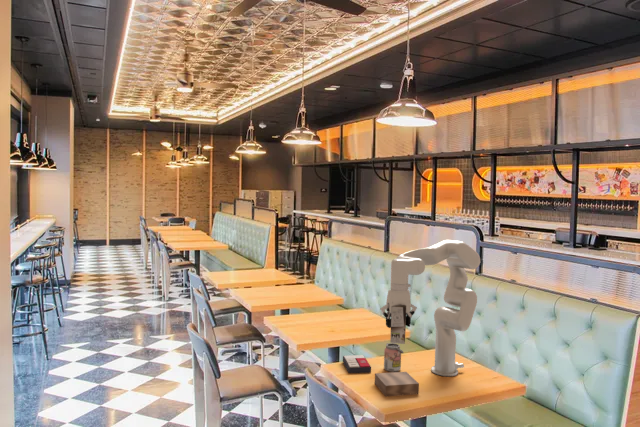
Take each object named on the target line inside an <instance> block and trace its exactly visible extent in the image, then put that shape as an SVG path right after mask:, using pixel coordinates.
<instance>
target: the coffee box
mask: <svg viewBox="0 0 640 427" xmlns="http://www.w3.org/2000/svg"><path fill="white" fill-rule="evenodd" d="M406 316H407V315H406V305H401V306H392V310H391V317H390V319H391V328H390V339H389V340H390V341H389V343H395V344H398V345H405V344H406V328H407V326H406Z"/></svg>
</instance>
